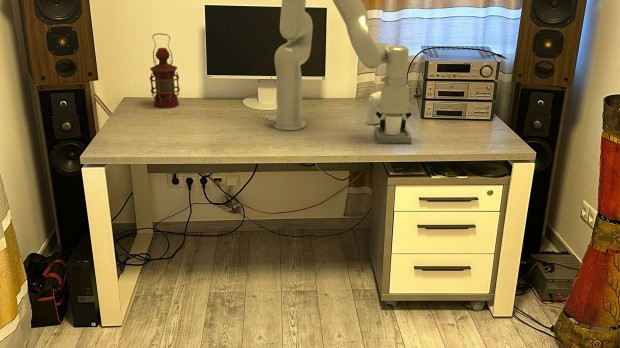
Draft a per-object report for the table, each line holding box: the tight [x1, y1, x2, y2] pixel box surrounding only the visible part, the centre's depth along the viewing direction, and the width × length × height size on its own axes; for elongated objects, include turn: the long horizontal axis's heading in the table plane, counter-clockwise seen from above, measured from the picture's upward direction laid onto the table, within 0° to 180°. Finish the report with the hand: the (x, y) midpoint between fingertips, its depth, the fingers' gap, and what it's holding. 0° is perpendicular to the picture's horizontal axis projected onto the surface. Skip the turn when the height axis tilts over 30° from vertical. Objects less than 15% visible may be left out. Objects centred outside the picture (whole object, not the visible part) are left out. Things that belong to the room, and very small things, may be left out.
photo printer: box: [366, 90, 382, 126], centre depth 248 cm, size 10×4×12 cm, turn 123°
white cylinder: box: [384, 114, 403, 135], centre depth 230 cm, size 7×7×7 cm
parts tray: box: [374, 126, 413, 145], centre depth 232 cm, size 12×12×2 cm
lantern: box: [149, 33, 181, 109], centre depth 264 cm, size 12×12×30 cm
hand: (392, 129), depth 231 cm, fingers closed on white cylinder, 6 cm apart
